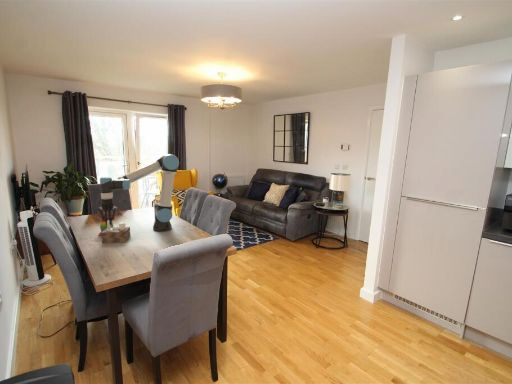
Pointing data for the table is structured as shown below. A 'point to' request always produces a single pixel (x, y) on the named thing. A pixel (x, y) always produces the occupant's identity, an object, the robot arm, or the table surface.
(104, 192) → the robot arm
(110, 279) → the table surface
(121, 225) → the peg
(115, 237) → the brown woven basket
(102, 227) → the stacking bear
